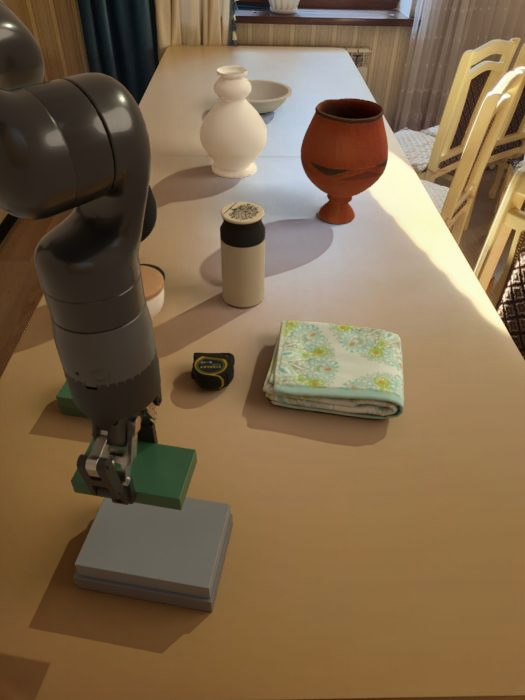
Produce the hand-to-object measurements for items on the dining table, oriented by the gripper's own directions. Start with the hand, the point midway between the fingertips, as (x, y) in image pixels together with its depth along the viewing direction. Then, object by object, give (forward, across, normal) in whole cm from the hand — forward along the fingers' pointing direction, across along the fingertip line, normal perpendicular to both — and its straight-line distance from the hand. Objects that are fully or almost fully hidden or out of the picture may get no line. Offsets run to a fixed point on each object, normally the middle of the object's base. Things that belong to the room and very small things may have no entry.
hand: (136, 471), depth 55 cm
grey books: (+16, 0, +1) cm, 16 cm away
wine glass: (+17, -55, -22) cm, 61 cm away
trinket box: (+17, -44, -18) cm, 50 cm away
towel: (+16, -34, +19) cm, 43 cm away
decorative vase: (+17, -111, -14) cm, 113 cm away
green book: (+1, 0, 0) cm, 1 cm away
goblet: (+16, -90, +16) cm, 92 cm away
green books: (+16, -22, -15) cm, 31 cm away
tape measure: (+16, -31, 0) cm, 35 cm away
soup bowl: (+17, -160, -17) cm, 161 cm away
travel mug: (+16, -53, 0) cm, 56 cm away
